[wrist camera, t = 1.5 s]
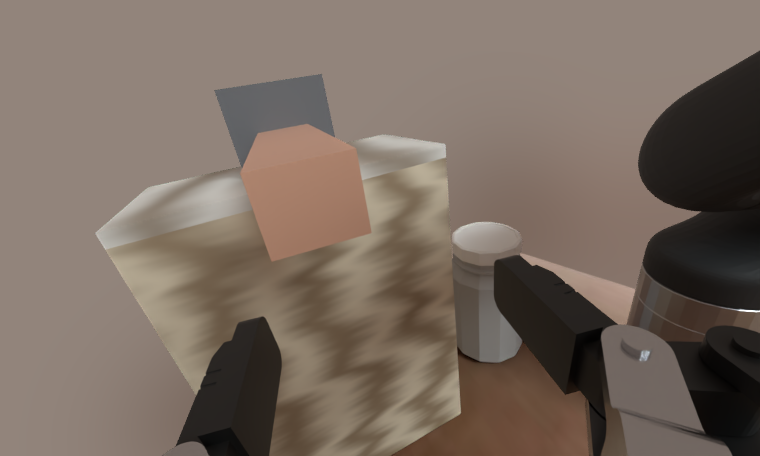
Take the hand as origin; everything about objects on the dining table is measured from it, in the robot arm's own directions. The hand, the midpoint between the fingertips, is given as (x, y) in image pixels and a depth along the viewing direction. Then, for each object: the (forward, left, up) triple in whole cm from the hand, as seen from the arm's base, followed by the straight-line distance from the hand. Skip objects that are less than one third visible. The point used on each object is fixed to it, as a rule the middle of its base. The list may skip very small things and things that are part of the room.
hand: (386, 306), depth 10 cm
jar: (-21, -18, -30) cm, 41 cm away
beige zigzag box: (0, -17, -30) cm, 34 cm away
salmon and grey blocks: (0, -11, +2) cm, 12 cm away
